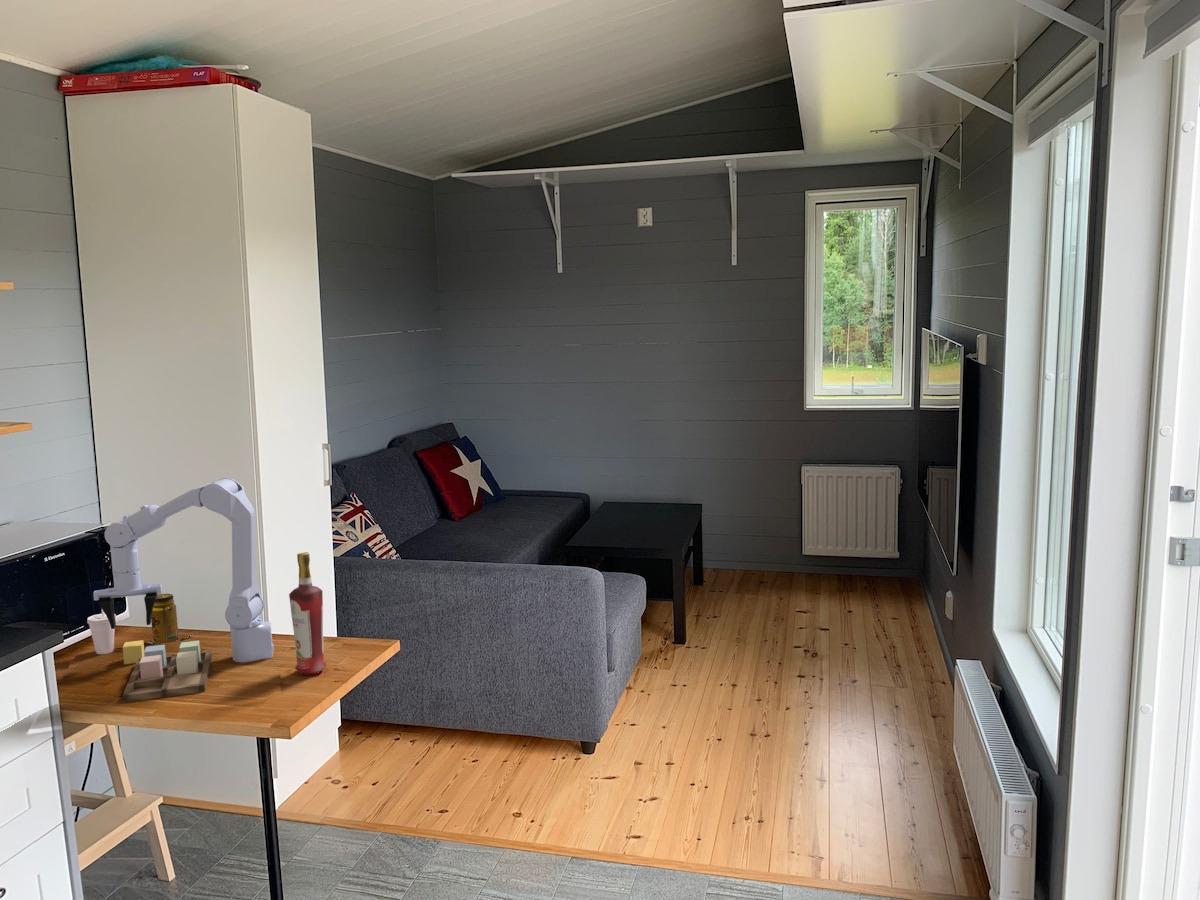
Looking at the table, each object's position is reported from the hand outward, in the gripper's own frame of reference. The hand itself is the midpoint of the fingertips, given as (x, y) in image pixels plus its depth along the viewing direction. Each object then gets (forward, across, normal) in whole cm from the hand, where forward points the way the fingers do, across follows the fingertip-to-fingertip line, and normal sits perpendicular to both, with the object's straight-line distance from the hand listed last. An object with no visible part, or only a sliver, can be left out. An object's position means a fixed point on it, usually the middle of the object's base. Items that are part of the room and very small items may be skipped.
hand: (131, 625), depth 227 cm
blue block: (+9, -6, +8) cm, 13 cm away
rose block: (+9, -6, +16) cm, 19 cm away
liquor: (+10, -40, +22) cm, 47 cm away
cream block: (+9, -13, +16) cm, 23 cm away
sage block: (+9, -13, +8) cm, 18 cm away
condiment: (+10, -6, -16) cm, 20 cm away
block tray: (+9, -10, +16) cm, 21 cm away
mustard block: (+10, 0, 0) cm, 10 cm away
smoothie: (+10, +8, -10) cm, 16 cm away
